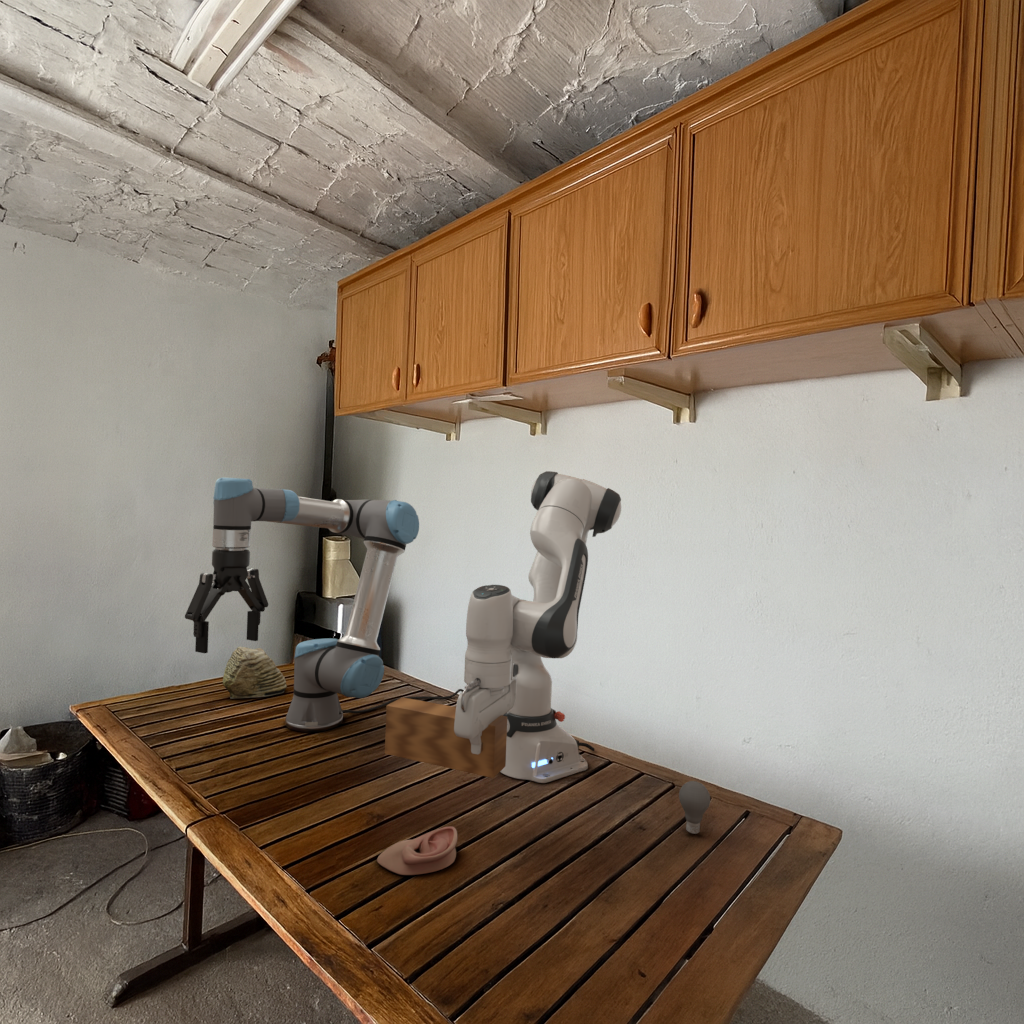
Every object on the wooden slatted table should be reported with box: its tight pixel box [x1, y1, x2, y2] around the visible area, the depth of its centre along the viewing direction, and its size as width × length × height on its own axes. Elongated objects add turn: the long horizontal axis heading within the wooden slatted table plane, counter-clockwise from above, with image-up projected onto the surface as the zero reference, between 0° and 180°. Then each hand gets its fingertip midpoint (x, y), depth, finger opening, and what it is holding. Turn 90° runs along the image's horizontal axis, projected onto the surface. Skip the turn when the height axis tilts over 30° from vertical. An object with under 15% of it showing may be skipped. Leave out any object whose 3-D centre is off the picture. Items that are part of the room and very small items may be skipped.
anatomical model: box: [376, 826, 459, 876], centre depth 112 cm, size 13×4×12 cm
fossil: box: [222, 646, 288, 699], centre depth 198 cm, size 9×18×15 cm, turn 132°
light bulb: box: [678, 780, 711, 835], centre depth 125 cm, size 6×6×10 cm
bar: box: [384, 696, 507, 779], centre depth 122 cm, size 23×6×10 cm, turn 68°
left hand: (227, 646), depth 138 cm, fingers open, 13 cm apart
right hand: (485, 745), depth 119 cm, fingers closed on bar, 6 cm apart
